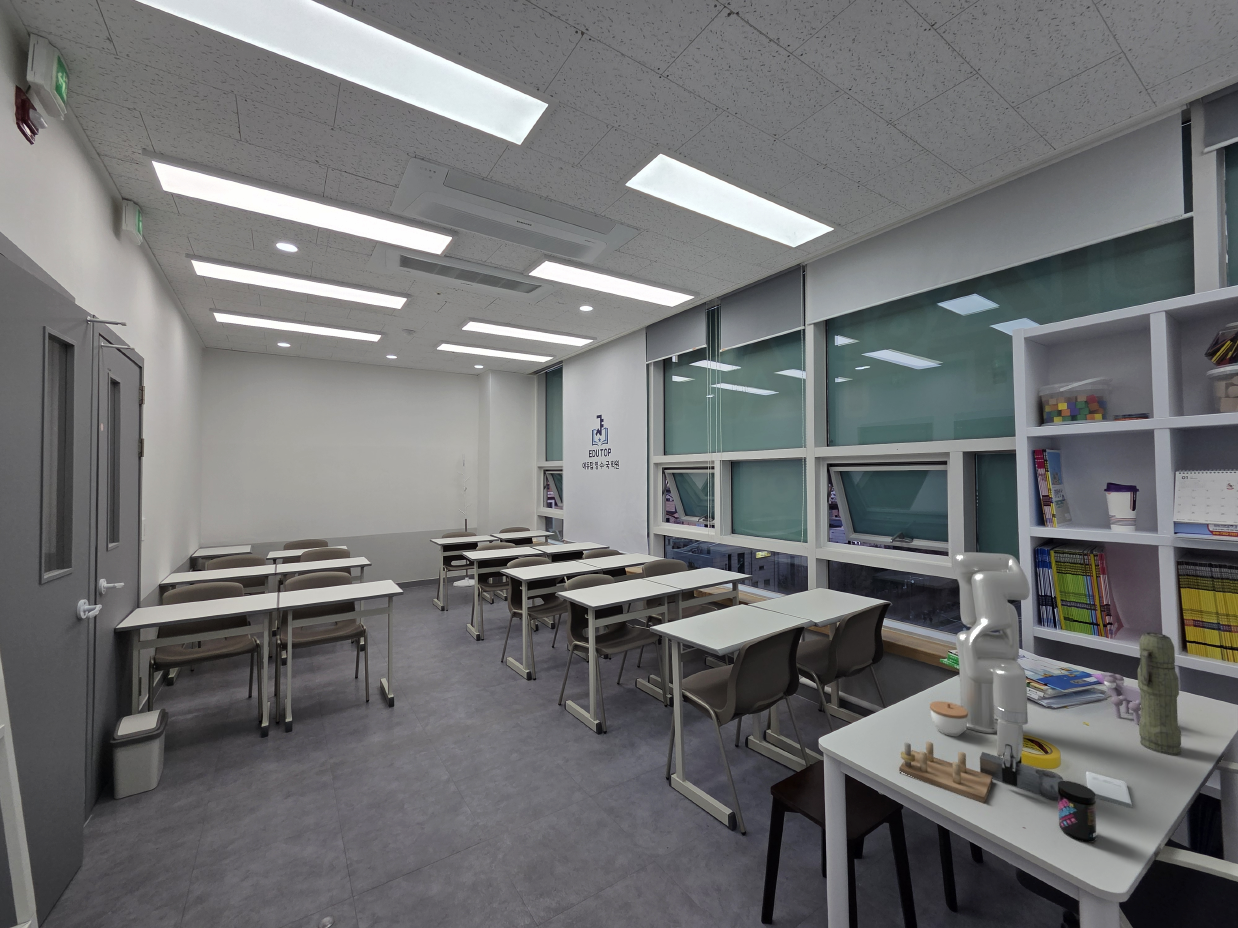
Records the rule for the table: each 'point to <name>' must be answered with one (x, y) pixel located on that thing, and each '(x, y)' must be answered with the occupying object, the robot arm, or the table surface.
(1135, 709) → the purple toy animal
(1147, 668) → the moai statue
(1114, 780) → the external hard drive
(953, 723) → the lidded jar
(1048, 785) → the grey long block
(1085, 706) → the table surface
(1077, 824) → the supplement container
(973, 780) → the rack
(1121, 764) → the table surface
